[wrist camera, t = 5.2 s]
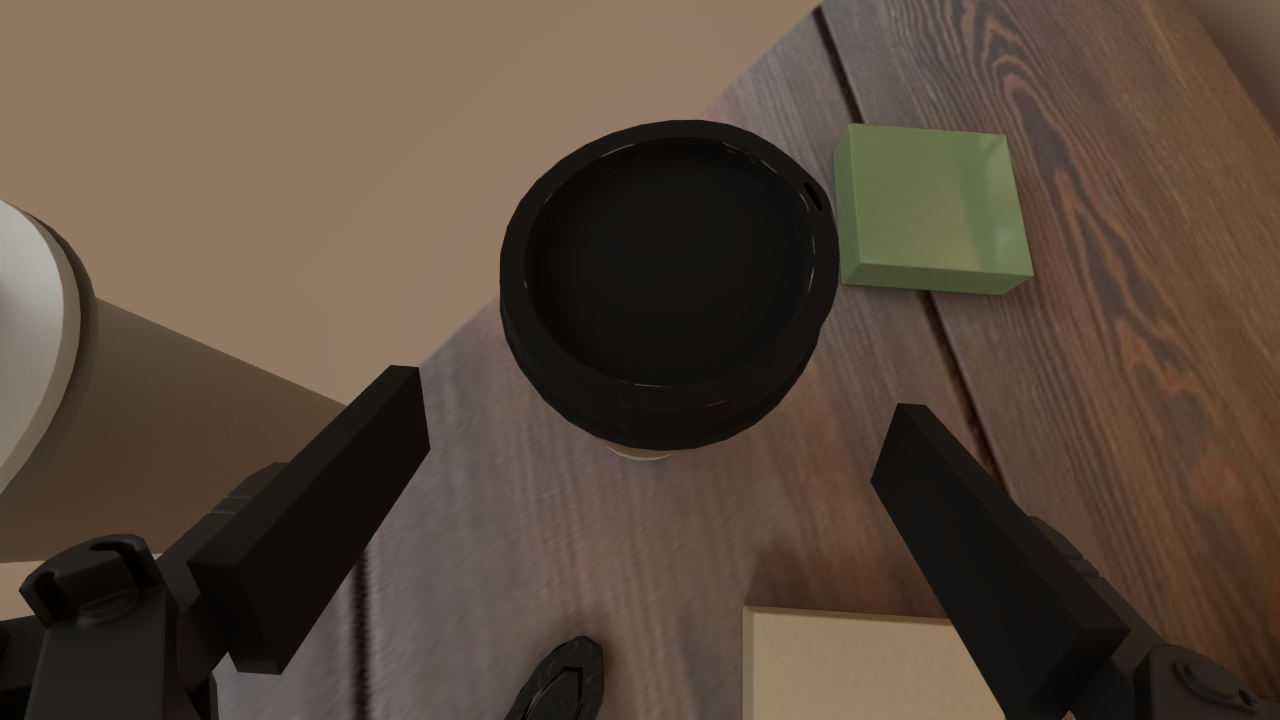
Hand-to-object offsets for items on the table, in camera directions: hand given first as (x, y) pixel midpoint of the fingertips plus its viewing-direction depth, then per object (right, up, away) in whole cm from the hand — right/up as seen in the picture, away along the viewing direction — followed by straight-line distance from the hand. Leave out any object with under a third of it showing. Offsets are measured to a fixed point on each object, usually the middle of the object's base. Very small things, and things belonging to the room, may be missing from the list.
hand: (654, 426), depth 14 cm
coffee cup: (0, 0, +11) cm, 12 cm away
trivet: (+16, +10, +15) cm, 24 cm away
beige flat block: (+9, -13, +7) cm, 18 cm away
